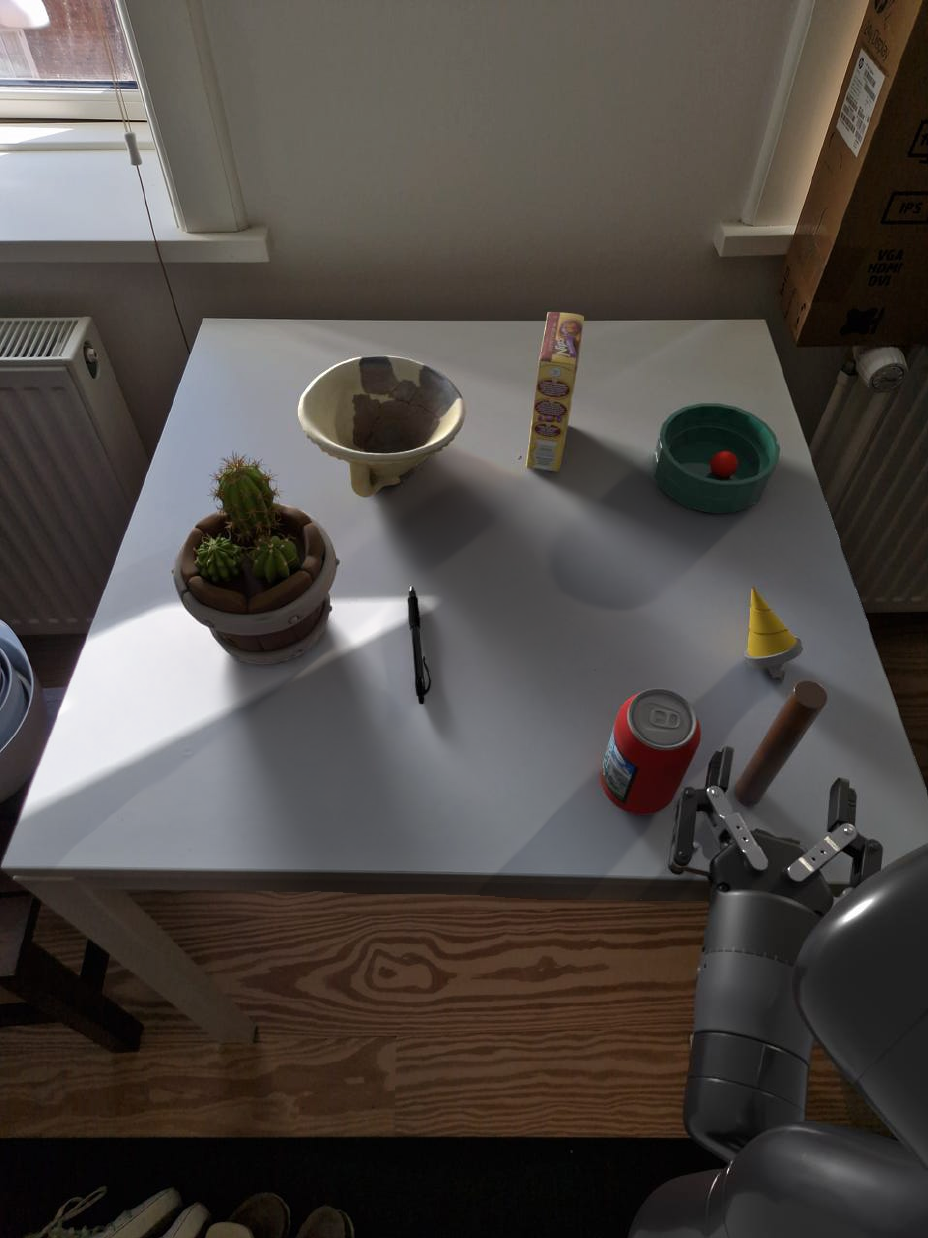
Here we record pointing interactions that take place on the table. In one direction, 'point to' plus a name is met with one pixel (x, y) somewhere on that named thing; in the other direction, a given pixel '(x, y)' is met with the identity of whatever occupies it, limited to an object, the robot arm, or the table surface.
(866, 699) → the table surface
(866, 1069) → the robot arm
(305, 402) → the bowl
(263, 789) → the table surface
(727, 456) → the red ball
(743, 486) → the mixing bowl
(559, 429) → the candy box
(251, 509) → the flowerpot
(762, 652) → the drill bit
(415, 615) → the pen
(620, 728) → the beverage can
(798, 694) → the stirring stick
